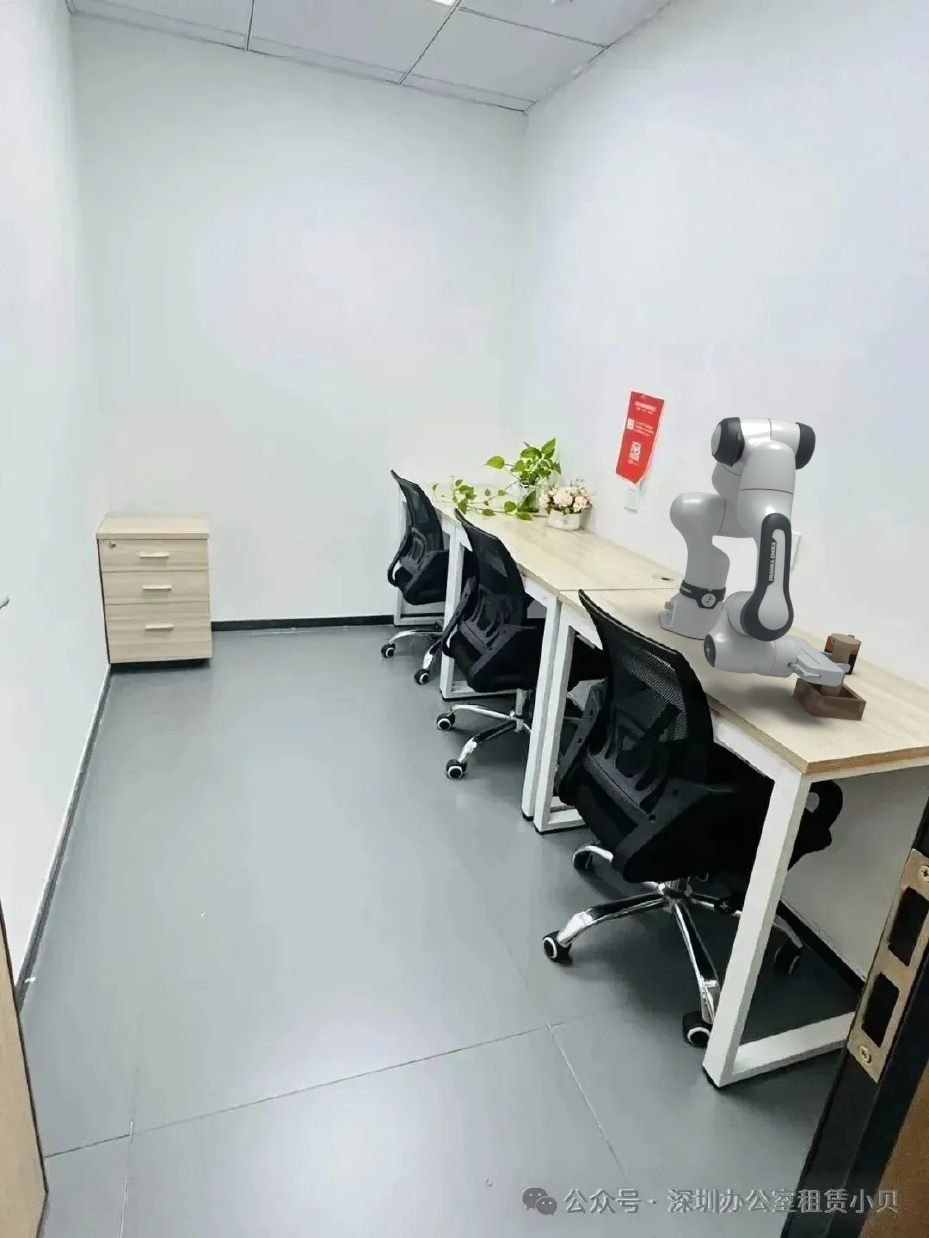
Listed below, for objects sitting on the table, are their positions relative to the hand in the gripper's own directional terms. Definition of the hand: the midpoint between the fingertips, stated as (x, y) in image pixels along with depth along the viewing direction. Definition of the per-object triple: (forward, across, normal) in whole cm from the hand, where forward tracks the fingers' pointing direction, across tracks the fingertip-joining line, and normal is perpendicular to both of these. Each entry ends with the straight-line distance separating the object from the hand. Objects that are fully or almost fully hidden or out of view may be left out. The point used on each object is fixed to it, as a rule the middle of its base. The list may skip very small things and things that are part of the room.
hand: (842, 663), depth 151 cm
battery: (+13, +24, +11) cm, 29 cm away
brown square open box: (-1, 0, +11) cm, 11 cm away
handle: (-1, 0, +10) cm, 10 cm away
